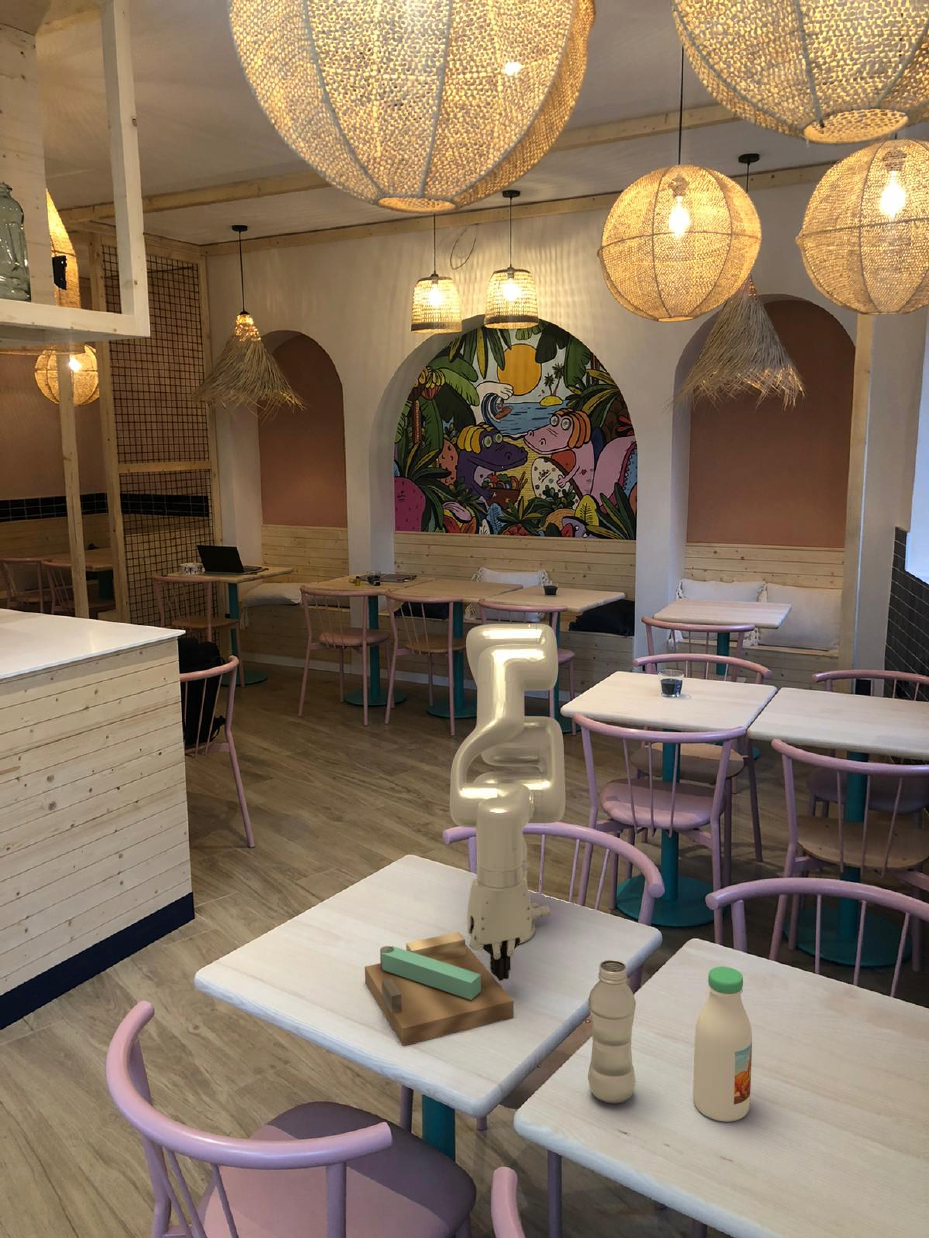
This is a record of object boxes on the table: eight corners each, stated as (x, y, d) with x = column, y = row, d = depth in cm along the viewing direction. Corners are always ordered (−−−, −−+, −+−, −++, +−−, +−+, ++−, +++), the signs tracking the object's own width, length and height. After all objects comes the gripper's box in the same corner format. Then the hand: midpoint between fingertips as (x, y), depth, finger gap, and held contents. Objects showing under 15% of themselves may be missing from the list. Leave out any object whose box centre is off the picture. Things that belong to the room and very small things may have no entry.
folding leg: (376, 967, 168) (376, 951, 168) (387, 959, 171) (386, 943, 170) (471, 999, 158) (471, 982, 158) (480, 991, 161) (480, 974, 160)
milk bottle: (715, 1129, 132) (720, 994, 129) (681, 1096, 139) (685, 966, 136) (761, 1114, 135) (767, 981, 132) (725, 1081, 142) (730, 954, 139)
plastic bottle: (634, 1112, 136) (637, 980, 132) (585, 1106, 137) (586, 975, 134) (635, 1083, 142) (638, 956, 139) (589, 1078, 144) (590, 952, 140)
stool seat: (465, 959, 177) (465, 928, 176) (513, 1017, 159) (513, 983, 158) (364, 982, 170) (363, 950, 169) (401, 1046, 152) (400, 1010, 151)
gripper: (530, 856, 167) (530, 956, 170) (449, 872, 161) (450, 974, 164) (550, 873, 160) (550, 977, 163) (467, 890, 154) (468, 997, 158)
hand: (500, 975), depth 164 cm, fingers closed
